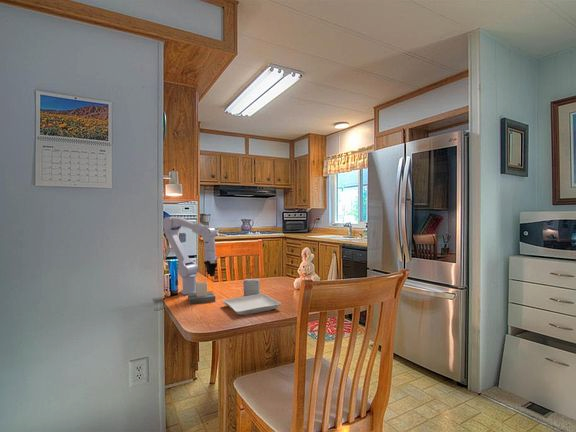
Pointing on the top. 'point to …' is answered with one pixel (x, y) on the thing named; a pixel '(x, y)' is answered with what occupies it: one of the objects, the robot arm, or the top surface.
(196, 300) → the slate panel
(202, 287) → the cream block
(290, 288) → the top surface
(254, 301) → the salad plate
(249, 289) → the medicine box
